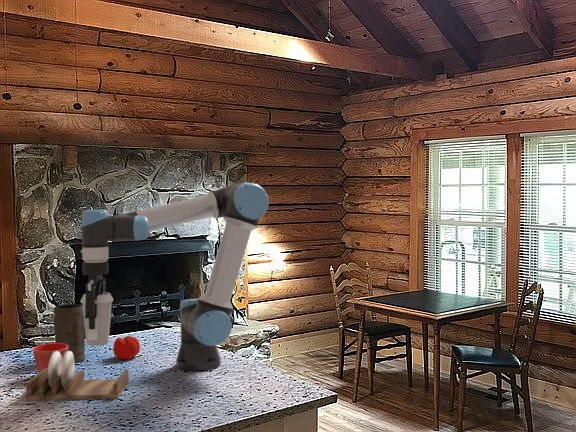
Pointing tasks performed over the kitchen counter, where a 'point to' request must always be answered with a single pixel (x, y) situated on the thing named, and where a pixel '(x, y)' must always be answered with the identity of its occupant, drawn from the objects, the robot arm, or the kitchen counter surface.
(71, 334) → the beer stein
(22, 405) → the kitchen counter surface
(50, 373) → the dish rack
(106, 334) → the coffee cup
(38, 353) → the flower pot
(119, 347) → the tomato
